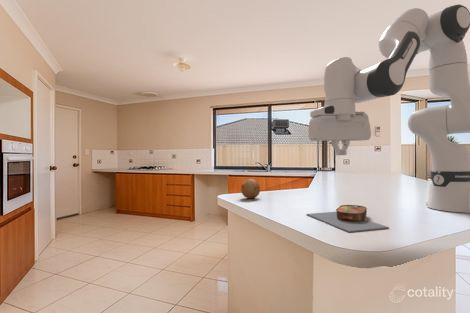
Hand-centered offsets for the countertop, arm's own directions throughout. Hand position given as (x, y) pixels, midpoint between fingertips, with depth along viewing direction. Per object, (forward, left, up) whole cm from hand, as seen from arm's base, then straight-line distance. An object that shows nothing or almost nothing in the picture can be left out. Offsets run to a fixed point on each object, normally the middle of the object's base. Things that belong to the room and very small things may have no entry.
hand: (340, 155), depth 78 cm
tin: (-9, -1, -19) cm, 22 cm away
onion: (+13, -54, -21) cm, 59 cm away
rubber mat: (-1, -1, -21) cm, 21 cm away
